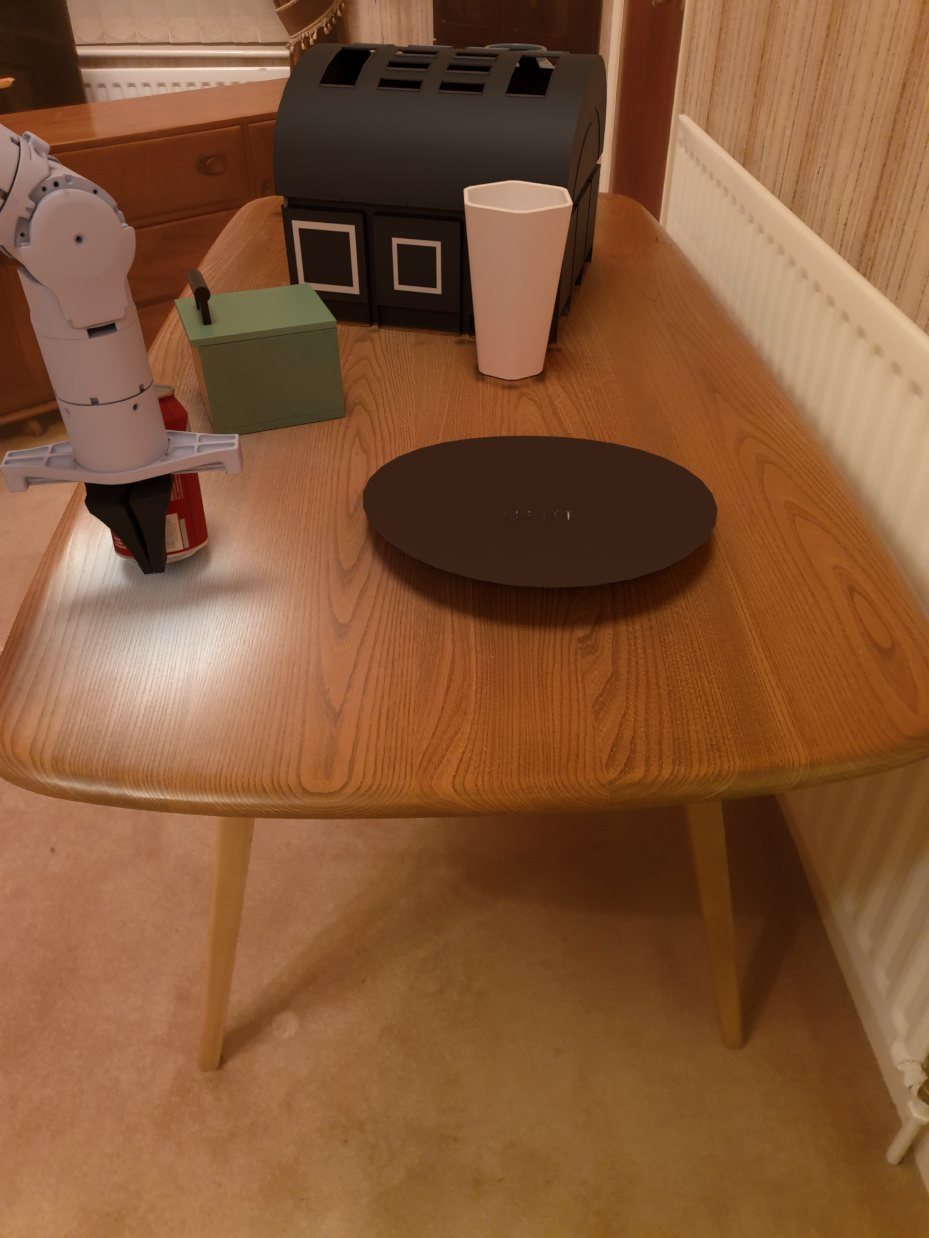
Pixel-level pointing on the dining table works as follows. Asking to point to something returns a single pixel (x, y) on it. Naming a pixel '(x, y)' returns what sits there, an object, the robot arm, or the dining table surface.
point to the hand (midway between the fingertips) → (155, 565)
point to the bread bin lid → (249, 312)
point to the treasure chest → (427, 171)
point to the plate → (540, 510)
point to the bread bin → (270, 381)
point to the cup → (515, 271)
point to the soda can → (177, 494)
